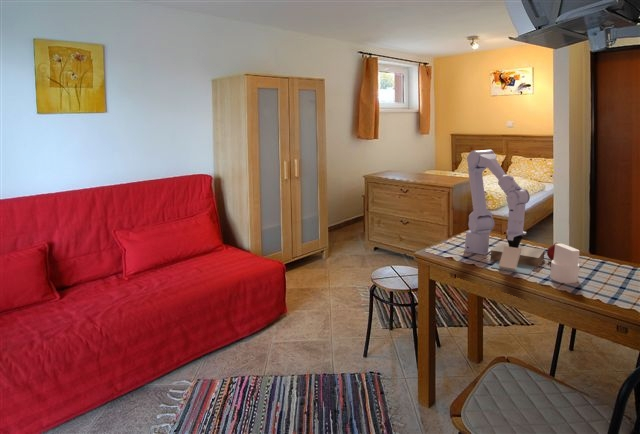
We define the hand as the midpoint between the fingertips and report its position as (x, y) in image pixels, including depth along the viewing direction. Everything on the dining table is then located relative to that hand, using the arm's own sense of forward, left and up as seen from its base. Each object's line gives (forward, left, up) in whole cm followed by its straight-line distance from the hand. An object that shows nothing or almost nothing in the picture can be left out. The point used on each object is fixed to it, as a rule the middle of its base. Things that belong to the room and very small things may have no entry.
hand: (513, 253), depth 176 cm
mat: (+1, -3, -5) cm, 6 cm away
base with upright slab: (+19, -5, -5) cm, 20 cm away
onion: (+13, +13, -5) cm, 19 cm away
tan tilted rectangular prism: (0, -4, -1) cm, 4 cm away
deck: (0, +8, -5) cm, 9 cm away
